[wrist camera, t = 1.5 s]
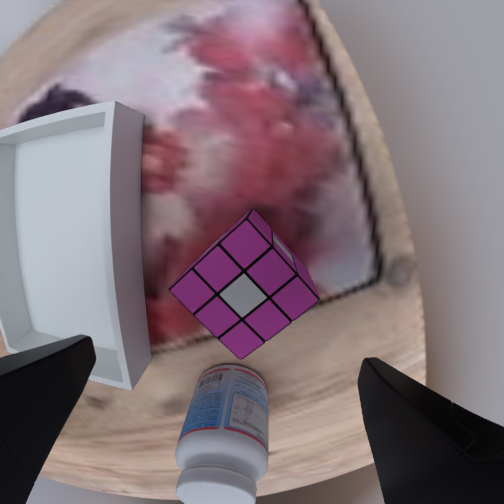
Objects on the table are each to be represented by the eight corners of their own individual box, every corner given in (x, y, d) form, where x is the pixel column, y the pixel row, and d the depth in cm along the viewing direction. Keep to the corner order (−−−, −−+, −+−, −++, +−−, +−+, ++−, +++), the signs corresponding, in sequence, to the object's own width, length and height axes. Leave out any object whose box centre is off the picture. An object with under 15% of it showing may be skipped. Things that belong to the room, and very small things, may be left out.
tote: (151, 359, 23) (132, 390, 18) (33, 332, 23) (7, 351, 19) (144, 115, 18) (115, 100, 14) (16, 139, 19) (-18, 137, 15)
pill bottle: (202, 412, 24) (174, 512, 13) (193, 359, 23) (151, 467, 12) (268, 415, 24) (266, 521, 13) (269, 362, 22) (268, 479, 11)
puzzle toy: (247, 318, 21) (240, 361, 16) (192, 262, 21) (167, 290, 15) (307, 269, 20) (321, 300, 15) (252, 207, 20) (246, 216, 14)
